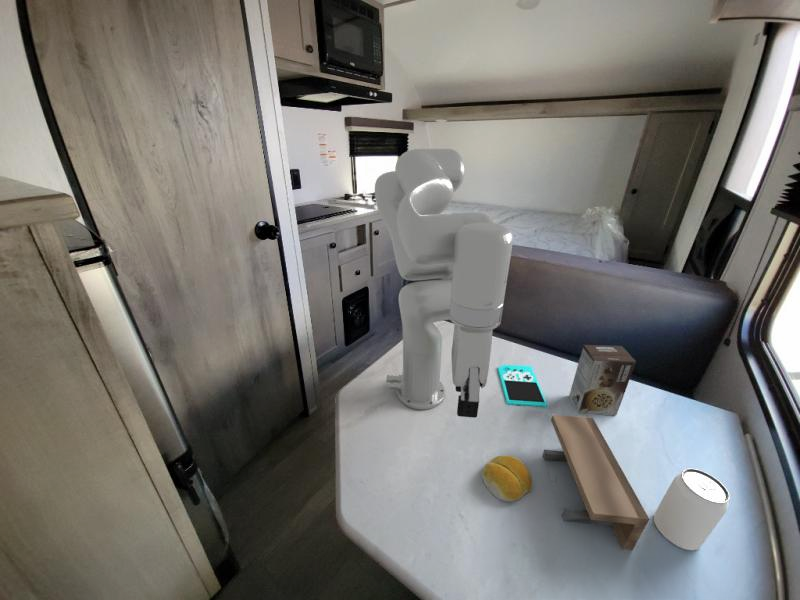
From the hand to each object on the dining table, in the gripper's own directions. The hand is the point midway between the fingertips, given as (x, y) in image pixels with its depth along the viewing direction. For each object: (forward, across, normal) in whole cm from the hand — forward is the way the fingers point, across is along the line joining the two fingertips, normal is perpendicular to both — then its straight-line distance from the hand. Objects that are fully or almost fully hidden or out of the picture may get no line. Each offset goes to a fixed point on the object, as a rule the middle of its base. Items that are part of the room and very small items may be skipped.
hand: (465, 402), depth 55 cm
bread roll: (+20, 0, +9) cm, 22 cm away
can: (+20, +6, +36) cm, 42 cm away
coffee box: (+20, -23, +34) cm, 46 cm away
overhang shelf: (+19, 0, +24) cm, 30 cm away
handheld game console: (+20, -29, +18) cm, 40 cm away
